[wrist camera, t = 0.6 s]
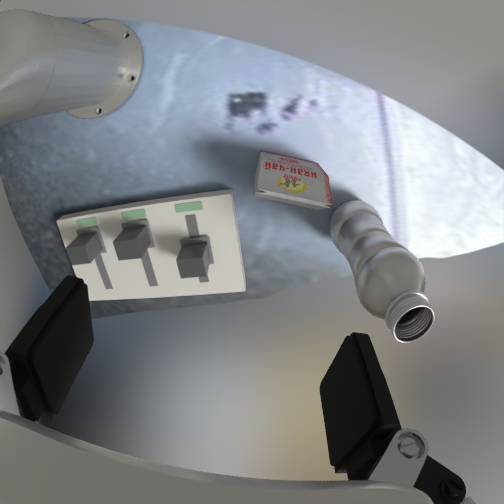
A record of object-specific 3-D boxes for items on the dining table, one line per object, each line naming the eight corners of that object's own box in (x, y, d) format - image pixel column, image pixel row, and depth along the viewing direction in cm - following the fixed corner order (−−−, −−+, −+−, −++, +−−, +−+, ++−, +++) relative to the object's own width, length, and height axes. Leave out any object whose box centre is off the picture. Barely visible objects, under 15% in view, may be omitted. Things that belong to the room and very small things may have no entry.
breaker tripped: (186, 265, 39) (179, 283, 36) (179, 239, 38) (172, 255, 34) (214, 262, 39) (210, 280, 36) (209, 236, 38) (204, 252, 34)
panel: (91, 293, 45) (86, 301, 43) (63, 215, 39) (55, 221, 37) (245, 282, 43) (245, 291, 41) (232, 188, 37) (230, 194, 35)
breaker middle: (129, 249, 39) (117, 265, 35) (121, 223, 37) (108, 237, 33) (154, 246, 38) (145, 262, 35) (147, 219, 37) (136, 233, 33)
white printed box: (310, 193, 37) (326, 226, 28) (253, 181, 37) (252, 211, 28) (317, 163, 36) (338, 188, 27) (260, 150, 35) (261, 170, 26)
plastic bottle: (328, 248, 41) (372, 365, 23) (322, 199, 38) (375, 298, 20) (375, 240, 40) (443, 346, 22) (373, 190, 37) (456, 278, 19)
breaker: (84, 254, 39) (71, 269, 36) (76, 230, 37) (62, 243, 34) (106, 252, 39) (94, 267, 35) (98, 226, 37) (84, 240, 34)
